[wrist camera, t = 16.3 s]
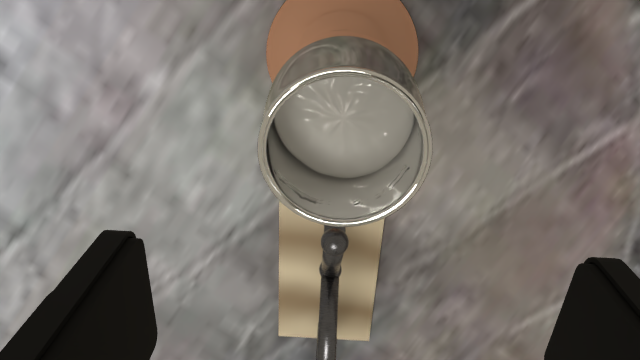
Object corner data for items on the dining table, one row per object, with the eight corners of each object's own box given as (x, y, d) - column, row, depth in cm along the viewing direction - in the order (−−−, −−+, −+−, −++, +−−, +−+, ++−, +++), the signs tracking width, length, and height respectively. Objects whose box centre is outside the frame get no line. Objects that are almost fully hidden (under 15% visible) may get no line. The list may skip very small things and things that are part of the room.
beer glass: (357, -22, 28) (373, 18, 15) (415, 71, 31) (472, 176, 17) (268, 45, 30) (212, 133, 17) (329, 127, 33) (322, 258, 19)
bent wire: (332, 331, 40) (331, 455, 30) (315, 330, 40) (309, 454, 30) (346, 158, 32) (350, 250, 23) (324, 157, 32) (320, 249, 23)
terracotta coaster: (447, 61, 31) (449, 63, 30) (335, 151, 34) (335, 155, 34) (349, -64, 28) (349, -64, 27) (236, 50, 31) (235, 51, 30)
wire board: (367, 328, 42) (368, 340, 41) (280, 323, 42) (278, 335, 41) (391, 134, 33) (394, 142, 32) (281, 128, 33) (279, 136, 32)
